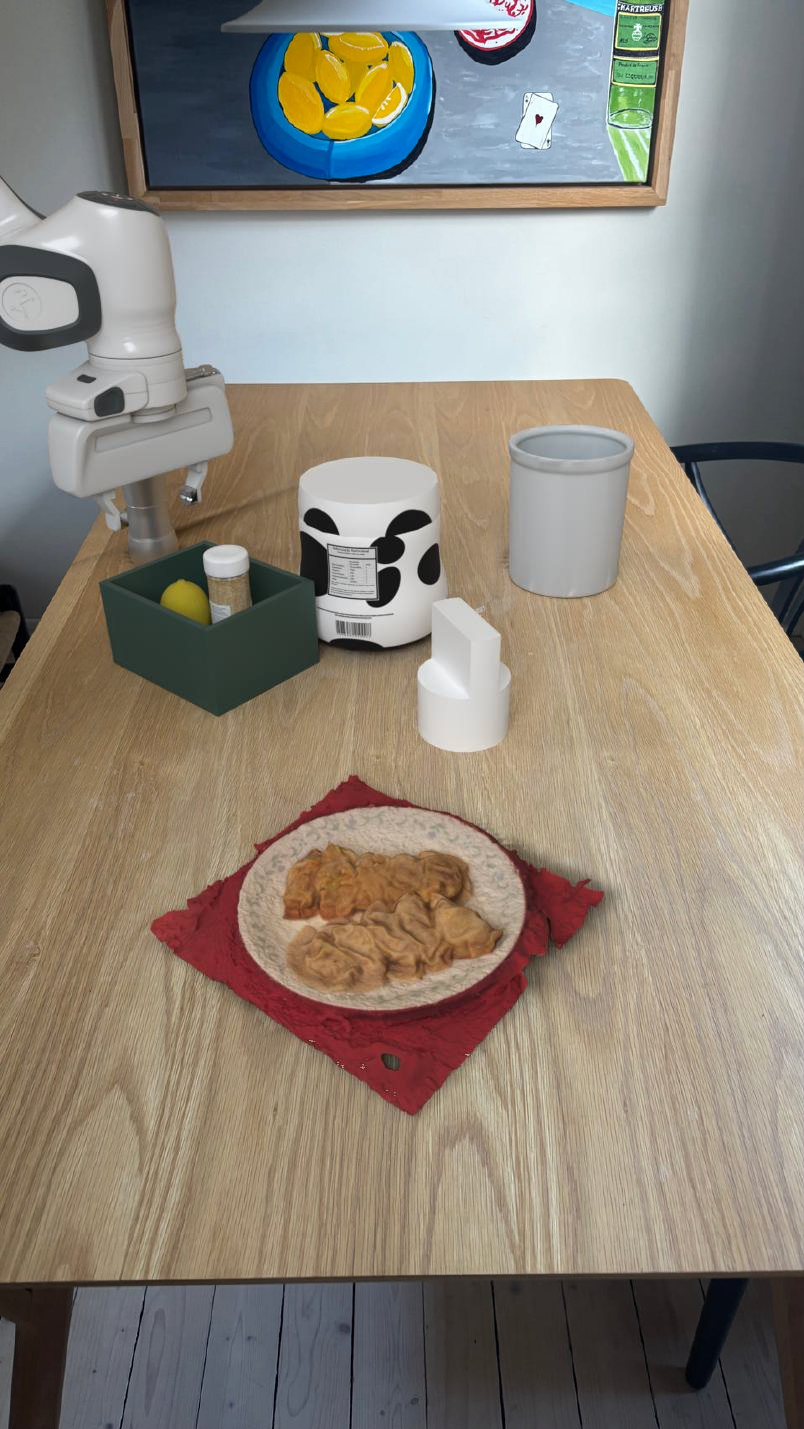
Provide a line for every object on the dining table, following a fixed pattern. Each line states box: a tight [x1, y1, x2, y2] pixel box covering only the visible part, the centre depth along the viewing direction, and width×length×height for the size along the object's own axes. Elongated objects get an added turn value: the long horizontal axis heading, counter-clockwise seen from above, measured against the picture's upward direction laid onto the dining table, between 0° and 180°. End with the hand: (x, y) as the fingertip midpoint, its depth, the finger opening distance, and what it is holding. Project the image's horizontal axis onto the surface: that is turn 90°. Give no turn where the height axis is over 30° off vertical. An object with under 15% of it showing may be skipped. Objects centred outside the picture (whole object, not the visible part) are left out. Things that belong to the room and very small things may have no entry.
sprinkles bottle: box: [203, 544, 252, 624], centre depth 107 cm, size 5×5×14 cm
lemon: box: [160, 579, 211, 626], centre depth 113 cm, size 6×6×8 cm
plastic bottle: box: [121, 473, 180, 567], centre depth 130 cm, size 6×7×20 cm
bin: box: [98, 539, 320, 718], centre depth 111 cm, size 18×15×10 cm
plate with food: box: [150, 774, 605, 1117], centre depth 78 cm, size 24×26×4 cm
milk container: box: [297, 455, 449, 652], centre depth 115 cm, size 17×17×18 cm
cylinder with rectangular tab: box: [417, 597, 512, 753], centre depth 98 cm, size 9×9×12 cm
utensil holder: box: [508, 423, 636, 599], centre depth 126 cm, size 15×15×18 cm
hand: (155, 515), depth 106 cm, fingers open, 8 cm apart
